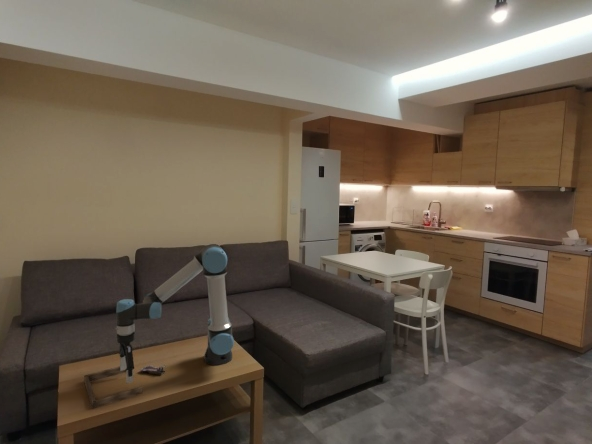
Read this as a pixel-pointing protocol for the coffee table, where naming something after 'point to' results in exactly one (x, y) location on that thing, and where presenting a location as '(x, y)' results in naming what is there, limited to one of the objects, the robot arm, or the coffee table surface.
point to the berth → (108, 399)
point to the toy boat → (154, 370)
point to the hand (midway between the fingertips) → (126, 375)
